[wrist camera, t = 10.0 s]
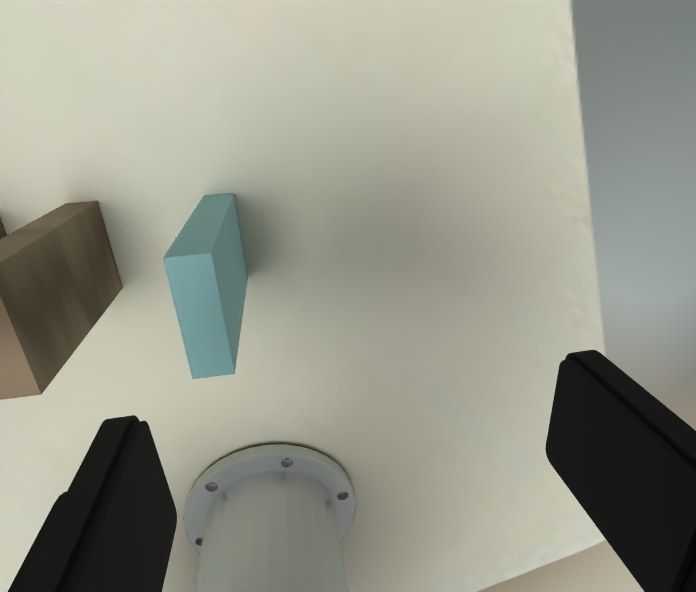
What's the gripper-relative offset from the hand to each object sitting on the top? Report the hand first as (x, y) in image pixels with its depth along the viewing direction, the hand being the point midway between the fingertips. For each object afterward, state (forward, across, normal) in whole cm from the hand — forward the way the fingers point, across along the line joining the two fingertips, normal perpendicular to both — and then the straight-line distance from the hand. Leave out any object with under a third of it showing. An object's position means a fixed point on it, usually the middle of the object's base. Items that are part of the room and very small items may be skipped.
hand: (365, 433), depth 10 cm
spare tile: (+17, +5, 0) cm, 18 cm away
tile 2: (+17, +12, 0) cm, 21 cm away
